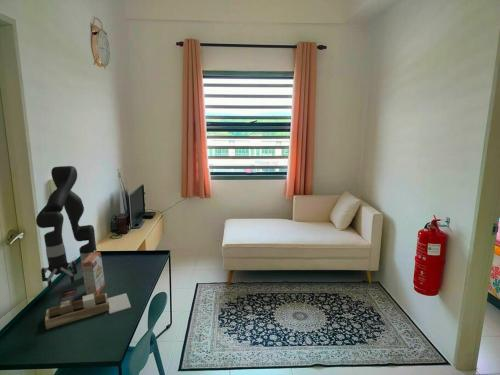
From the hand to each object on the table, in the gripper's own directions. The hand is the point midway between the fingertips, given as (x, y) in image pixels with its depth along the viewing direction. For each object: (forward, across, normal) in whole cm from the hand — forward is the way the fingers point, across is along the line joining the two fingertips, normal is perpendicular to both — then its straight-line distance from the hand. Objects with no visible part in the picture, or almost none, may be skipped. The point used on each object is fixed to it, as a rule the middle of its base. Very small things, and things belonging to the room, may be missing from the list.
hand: (61, 285), depth 148 cm
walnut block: (+17, 0, 0) cm, 17 cm away
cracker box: (+17, -14, -19) cm, 29 cm away
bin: (+17, -5, 0) cm, 17 cm away
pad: (+17, -23, +2) cm, 28 cm away
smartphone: (+17, 0, -22) cm, 28 cm away
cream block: (+17, -10, 0) cm, 20 cm away
